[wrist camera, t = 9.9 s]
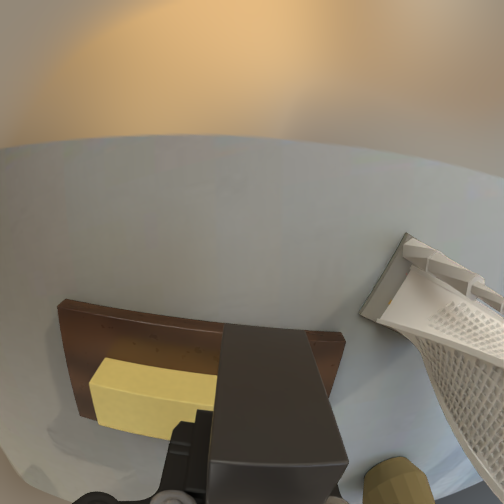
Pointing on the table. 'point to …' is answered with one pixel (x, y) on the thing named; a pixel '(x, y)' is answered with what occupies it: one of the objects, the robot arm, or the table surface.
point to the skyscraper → (451, 345)
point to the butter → (148, 397)
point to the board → (157, 345)
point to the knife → (271, 422)
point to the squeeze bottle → (396, 484)
